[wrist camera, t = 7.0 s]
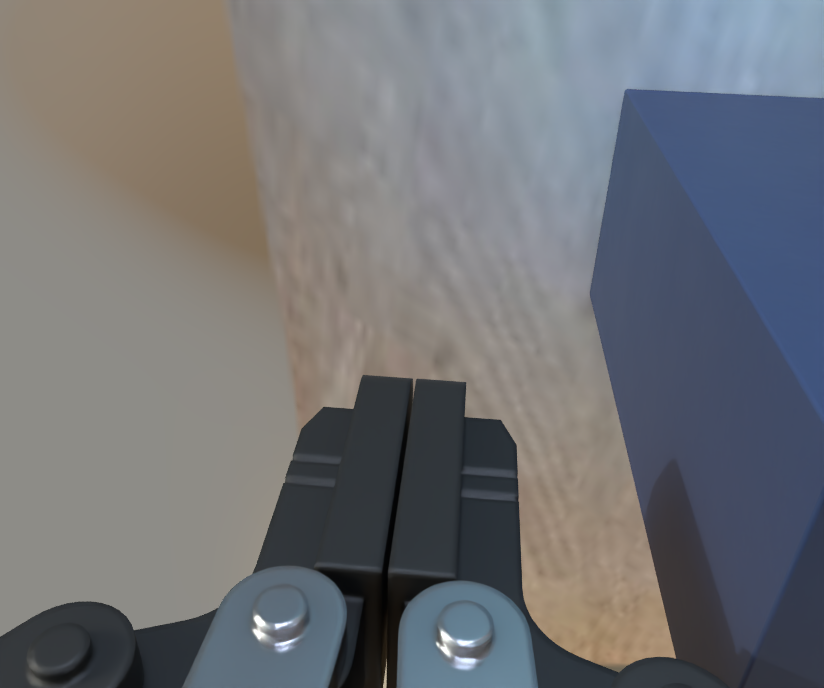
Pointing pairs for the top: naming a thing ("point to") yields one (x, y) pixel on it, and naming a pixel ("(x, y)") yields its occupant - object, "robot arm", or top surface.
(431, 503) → the robot arm
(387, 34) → the top surface
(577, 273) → the top surface
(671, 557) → the navy box
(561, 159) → the top surface
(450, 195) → the top surface
